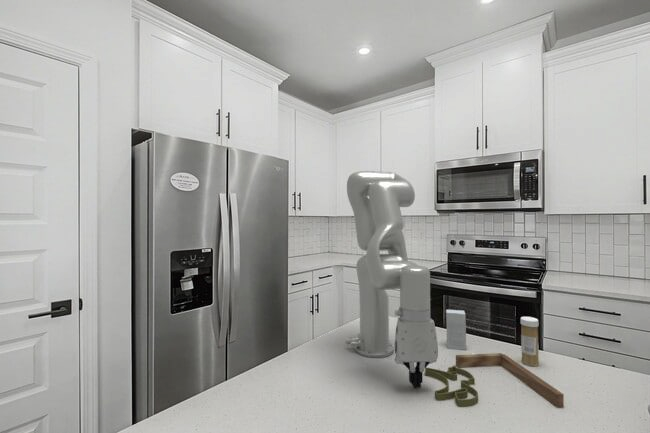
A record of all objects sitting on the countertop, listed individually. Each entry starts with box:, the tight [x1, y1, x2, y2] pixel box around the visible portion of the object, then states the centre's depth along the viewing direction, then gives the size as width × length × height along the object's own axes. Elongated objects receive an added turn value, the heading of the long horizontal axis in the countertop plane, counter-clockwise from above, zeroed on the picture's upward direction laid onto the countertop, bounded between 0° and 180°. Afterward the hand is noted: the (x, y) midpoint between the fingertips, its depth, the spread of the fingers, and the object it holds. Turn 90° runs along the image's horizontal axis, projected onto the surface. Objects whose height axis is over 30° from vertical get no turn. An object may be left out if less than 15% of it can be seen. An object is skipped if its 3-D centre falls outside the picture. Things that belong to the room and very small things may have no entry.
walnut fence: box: [455, 352, 565, 408], centre depth 86 cm, size 15×23×3 cm, turn 4°
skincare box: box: [445, 309, 467, 351], centre depth 111 cm, size 6×4×12 cm
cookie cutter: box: [424, 365, 479, 408], centre depth 85 cm, size 18×12×2 cm, turn 174°
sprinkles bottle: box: [520, 316, 540, 367], centre depth 98 cm, size 5×5×14 cm
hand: (415, 385), depth 84 cm, fingers closed
